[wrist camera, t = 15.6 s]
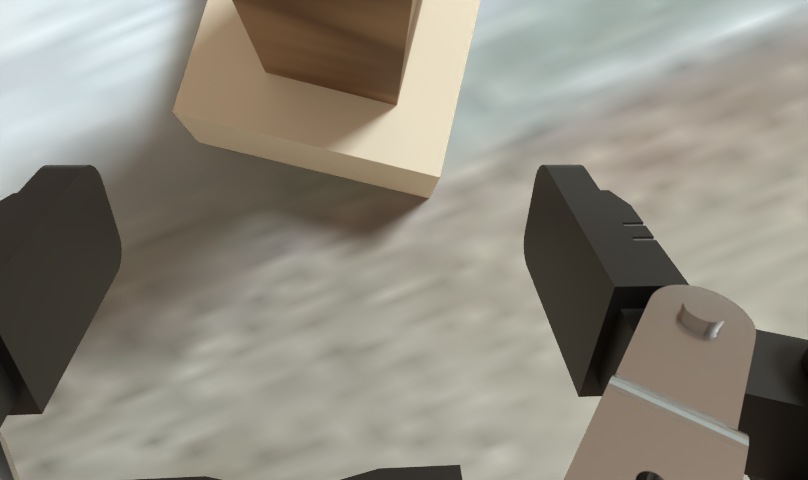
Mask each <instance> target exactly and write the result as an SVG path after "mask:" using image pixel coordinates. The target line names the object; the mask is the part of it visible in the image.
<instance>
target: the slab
mask: <svg viewBox="0 0 808 480" xmlns="http://www.w3.org/2000/svg"><path fill="white" fill-rule="evenodd" d="M479 4H480V0H423V1H422V6H421V10H420V14H419V18H418V22H417V26H416V30H415V34H414V38H413V42H412V46H411V50H410V54H409V58H408V62H407V66H406V70H405V74H404V78H403V83H402V87H401V91H400V95H399V99H398V103H397V105H393V104H389V103H385V102H381V101H377V100H373V99H369V98H365V97H361V96H357V95H353V94H349V93H345V92H341V91H337V90H333V89H329V88H325V87H321V86H317V85H313V84H309V83H305V82H301V81H297V80H293V79H289V78H285V77H281V76H277V75H273V74H269V73H266V72H265V70H264V68H263V66H262V64H261V62H260V59H259V57H258V55H257V53H256V51H255V49H254V46H253V44H252V42H251V40H250V38H249V36H248V34H247V31H246V29H245V27H244V25H243V23H242V21H241V18H240V16H239V14H238V12H237V10H236V8H235V5H234V3H233V1H232V0H207V3H206V7H205V10H204V13H203V16H202V19H201V22H200V25H199V28H198V32H197V35H196V38H195V41H194V44H193V47H192V50H191V53H190V57H189V60H188V63H187V66H186V69H185V72H184V75H183V78H182V82H181V85H180V88H179V91H178V94H177V97H176V100H175V103H174V107H173V110H172V112H173V113H174V115H175V116H176V117H177V118H178V119H179V120H180V122H181V123H182V124H183V125H184V126H185V127H186V128H187V130H188V131H189V132H190V133H191V134H192V135H193V136H194V138H195V139H196V140H197V141H198V142H200V143H204V144H208V145H212V146H216V147H220V148H224V149H228V150H232V151H237V152H241V153H245V154H249V155H253V156H257V157H261V158H265V159H269V160H273V161H278V162H282V163H286V164H290V165H294V166H298V167H302V168H306V169H310V170H314V171H319V172H323V173H327V174H331V175H335V176H339V177H343V178H347V179H351V180H355V181H360V182H364V183H368V184H372V185H376V186H380V187H384V188H388V189H392V190H396V191H401V192H405V193H409V194H413V195H417V196H421V197H425V198H430V196H431V194H432V192H433V190H434V188H435V186H436V184H437V182H438V180H439V178H440V174H441V170H442V166H443V161H444V157H445V153H446V148H447V144H448V139H449V135H450V131H451V126H452V122H453V118H454V113H455V109H456V104H457V100H458V96H459V91H460V87H461V82H462V78H463V74H464V69H465V65H466V61H467V56H468V52H469V47H470V43H471V39H472V34H473V30H474V26H475V21H476V17H477V12H478V8H479Z"/></svg>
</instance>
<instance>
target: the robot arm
mask: <svg viewBox="0 0 808 480" xmlns="http://www.w3.org/2000/svg"><path fill="white" fill-rule="evenodd" d="M653 237H654V236H653V235H652V234H651V232H650V231H649V230H648V228H647V227H646V226H643V221H642V220H641V219H640V217H639V216H638V215H637V213H636V212H635V211H634V209H633V208H632V206H631V205H630V204H628V203H627V202H625V201H624V200H622V199H621V198H619V197H618V196H616V195H615V194H613V193H612V192H610V191H609V190H601V191H600V189H599V188H598V187H597V185H596V184H595V182H594V181H593V179H592V178H591V176H590V175H589V173H588V172H587V170H586V169H585V168H584V166H582V165H541V166H540V167H539V169H538V171H537V174H536V178H535V183H534V188H533V193H532V198H531V203H530V208H529V214H528V219H527V224H526V229H525V235H524V255H525V261H526V265H527V267H528V270H529V272H530V275H531V278H532V280H533V283H534V285H535V288H536V290H537V293H538V295H539V298H540V300H541V303H542V305H543V308H544V310H545V313H546V315H547V318H548V320H549V323H550V325H551V328H552V330H553V333H554V336H555V338H556V341H557V343H558V346H559V348H560V351H561V353H562V356H563V358H564V361H565V363H566V366H567V368H568V371H569V373H570V376H571V378H572V381H573V383H574V386H575V388H576V391H577V394H578V396H579V397H586V396H602V398H601V400H600V402H599V404H598V407H597V409H596V411H595V413H594V415H593V417H592V420H591V422H590V424H589V426H588V428H587V430H586V433H585V435H584V437H583V439H582V441H581V443H580V446H579V448H578V450H577V452H576V454H575V456H574V459H573V461H572V463H571V465H570V467H569V469H568V472H567V474H566V476H565V478H564V480H743V477H744V474H745V475H748V477H749V478H750V480H808V340H805V339H800V338H795V337H790V336H785V335H781V334H776V333H771V332H766V331H761V330H757V329H755V326H754V324H753V322H752V320H751V319H750V317H749V316H748V315H747V313H746V312H745V311H744V310H743V309H742V308H740V307H739V306H738V305H737V304H735V303H734V302H732V301H731V300H729V299H728V298H726V297H724V296H722V295H720V294H718V293H715V292H713V291H710V290H707V289H704V288H701V287H696V286H690V285H689V284H688V283H687V281H686V280H685V279H684V277H683V276H682V274H681V273H680V272H679V270H678V269H677V268H676V266H675V265H674V264H673V262H672V261H671V260H670V258H669V257H668V255H667V254H666V253H665V251H664V250H663V249H662V247H661V246H660V245H659V243H658V242H657V240H653ZM120 262H121V241H120V236H119V233H118V230H117V227H116V223H115V220H114V217H113V214H112V211H111V207H110V204H109V201H108V198H107V195H106V191H105V188H104V185H103V182H102V179H101V176H100V174H99V172H98V171H97V169H96V168H95V167H93V166H91V165H46V166H43V167H42V168H40V169H39V170H38V171H37V173H36V174H35V175H34V176H33V177H32V178H31V179H30V180H29V181H28V182H27V183H26V185H25V186H24V187H23V188H22V189H21V190H20V191H19V192H18V193H13V194H12V195H10V196H8V197H6V198H5V199H3V200H1V201H0V427H1V425H2V423H3V422H4V420H5V418H6V417H7V415H26V414H42V413H43V411H44V409H45V407H46V405H47V404H48V402H49V400H50V398H51V396H52V394H53V392H54V390H55V388H56V387H57V385H58V383H59V381H60V379H61V377H62V375H63V373H64V372H65V370H66V368H67V366H68V364H69V362H70V360H71V358H72V356H73V355H74V353H75V351H76V349H77V347H78V345H79V343H80V341H81V340H82V338H83V336H84V334H85V332H86V330H87V328H88V326H89V324H90V323H91V321H92V319H93V317H94V315H95V313H96V311H97V309H98V308H99V306H100V304H101V302H102V300H103V298H104V296H105V294H106V293H107V291H108V289H109V287H110V285H111V283H112V281H113V279H114V277H115V276H116V274H117V272H118V269H119V266H120ZM0 480H20V479H19V477H18V474H17V471H16V468H15V466H14V463H13V460H12V458H11V455H10V452H9V449H8V447H7V444H6V441H5V440H4V438H3V436H2V435H1V433H0ZM137 480H220V479H215V478H210V477H206V476H204V477H182V478H159V479H137ZM342 480H462V475H461V469H460V465H449V466H427V467H405V468H382V469H376V470H373V471H369V472H366V473H362V474H359V475H355V476H352V477H348V478H345V479H342Z"/></svg>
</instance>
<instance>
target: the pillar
mask: <svg viewBox="0 0 808 480" xmlns="http://www.w3.org/2000/svg"><path fill="white" fill-rule="evenodd" d="M232 1H233V3H234V5H235V8H236V10H237V12H238V14H239V16H240V18H241V21H242V23H243V25H244V27H245V29H246V31H247V34H248V36H249V38H250V40H251V42H252V44H253V46H254V49H255V51H256V53H257V55H258V57H259V59H260V62H261V64H262V66H263V68H264V70H265V72H266V73H269V74H273V75H277V76H281V77H285V78H289V79H293V80H297V81H301V82H305V83H309V84H313V85H317V86H321V87H325V88H329V89H333V90H337V91H341V92H345V93H349V94H353V95H357V96H361V97H365V98H369V99H373V100H377V101H381V102H385V103H389V104H393V105H397V103H398V99H399V95H400V91H401V87H402V83H403V78H404V74H405V70H406V66H407V62H408V58H409V54H410V50H411V46H412V42H413V38H414V34H415V30H416V26H417V22H418V18H419V14H420V10H421V6H422V1H423V0H232Z"/></svg>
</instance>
